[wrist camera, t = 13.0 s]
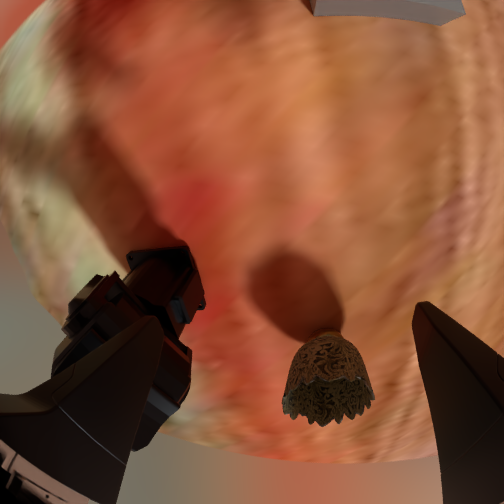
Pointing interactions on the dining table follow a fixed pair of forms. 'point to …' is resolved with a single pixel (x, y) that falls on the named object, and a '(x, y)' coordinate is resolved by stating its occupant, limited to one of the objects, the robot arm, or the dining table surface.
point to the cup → (327, 380)
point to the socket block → (393, 9)
